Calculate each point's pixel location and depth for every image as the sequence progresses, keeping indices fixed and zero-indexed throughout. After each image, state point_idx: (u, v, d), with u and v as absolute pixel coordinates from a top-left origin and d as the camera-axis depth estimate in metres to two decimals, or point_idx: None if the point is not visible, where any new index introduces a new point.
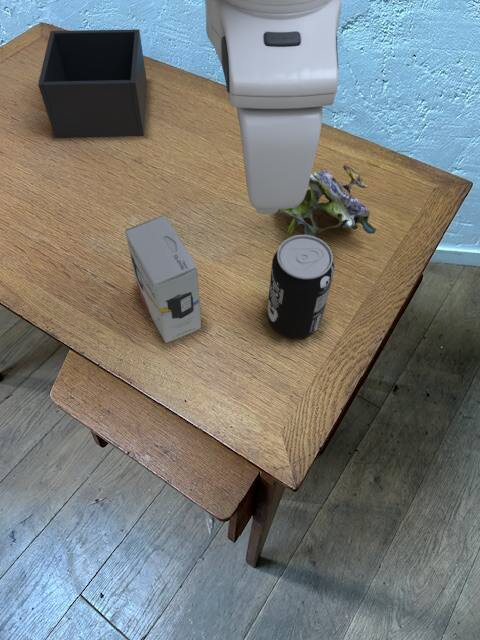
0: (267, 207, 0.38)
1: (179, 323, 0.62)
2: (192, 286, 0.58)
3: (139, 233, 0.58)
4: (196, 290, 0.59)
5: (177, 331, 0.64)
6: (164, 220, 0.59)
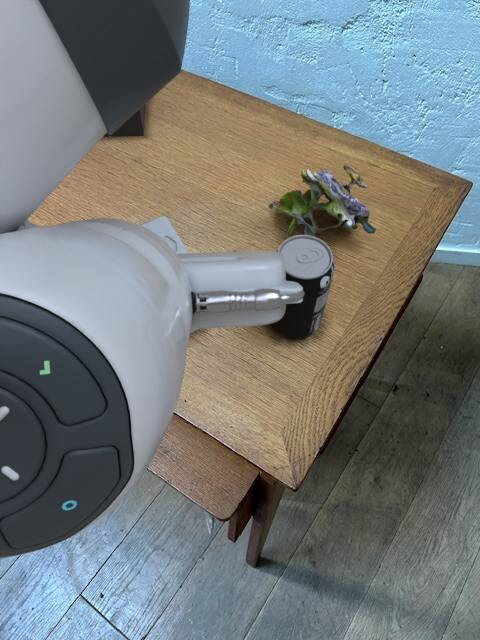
0: None
1: None
2: None
3: None
4: None
5: None
6: (164, 220, 0.59)
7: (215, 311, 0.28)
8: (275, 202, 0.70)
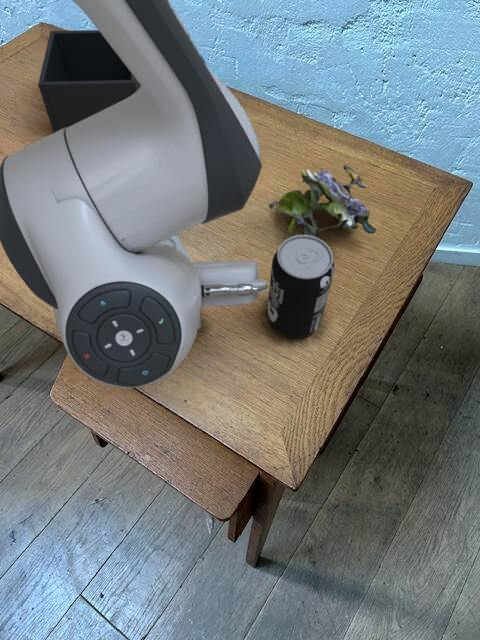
0: None
1: None
2: None
3: None
4: None
5: None
6: None
7: (214, 296, 0.49)
8: (275, 202, 0.70)
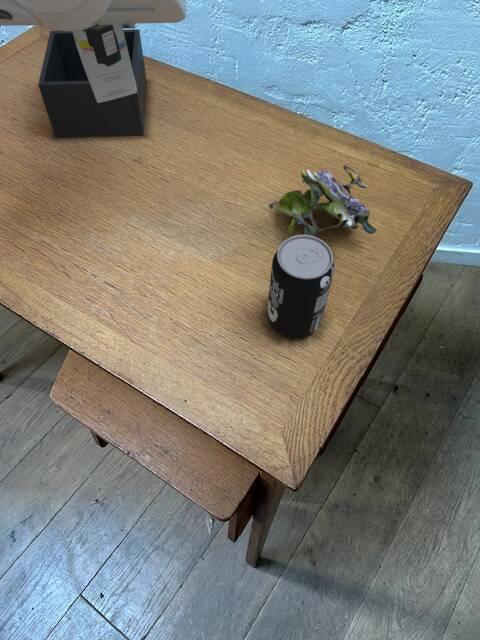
0: None
1: (107, 73, 0.59)
2: None
3: None
4: (118, 24, 0.56)
5: (108, 87, 0.61)
6: None
7: None
8: (275, 202, 0.70)
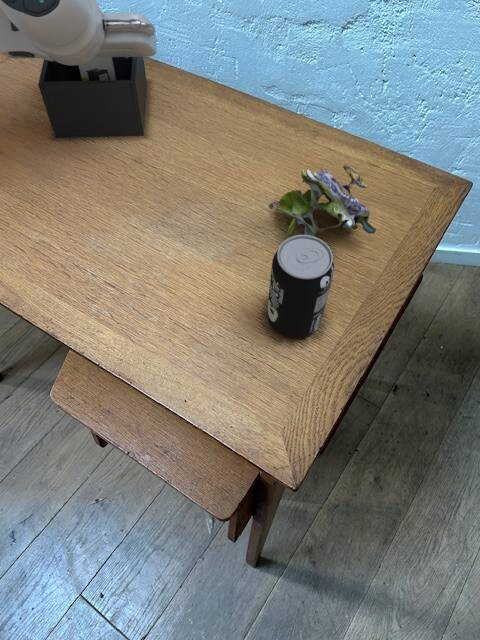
0: None
1: None
2: (107, 63, 0.77)
3: None
4: (111, 69, 0.78)
5: None
6: None
7: (113, 27, 0.68)
8: (275, 202, 0.70)
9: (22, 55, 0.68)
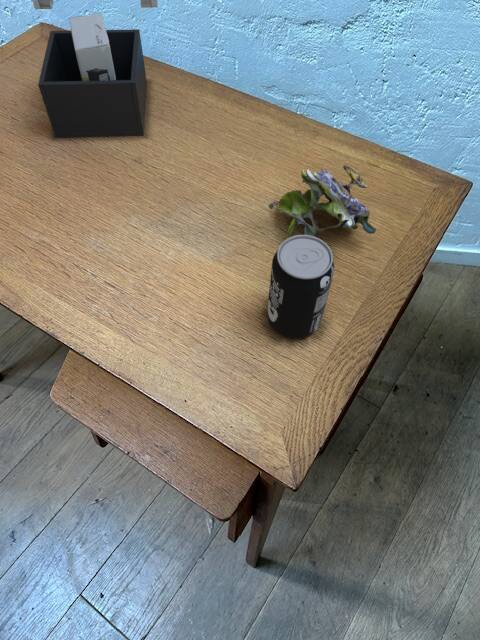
0: None
1: None
2: (107, 63, 0.77)
3: (78, 20, 0.78)
4: (111, 69, 0.78)
5: None
6: (99, 15, 0.79)
7: None
8: (275, 202, 0.70)
9: None
